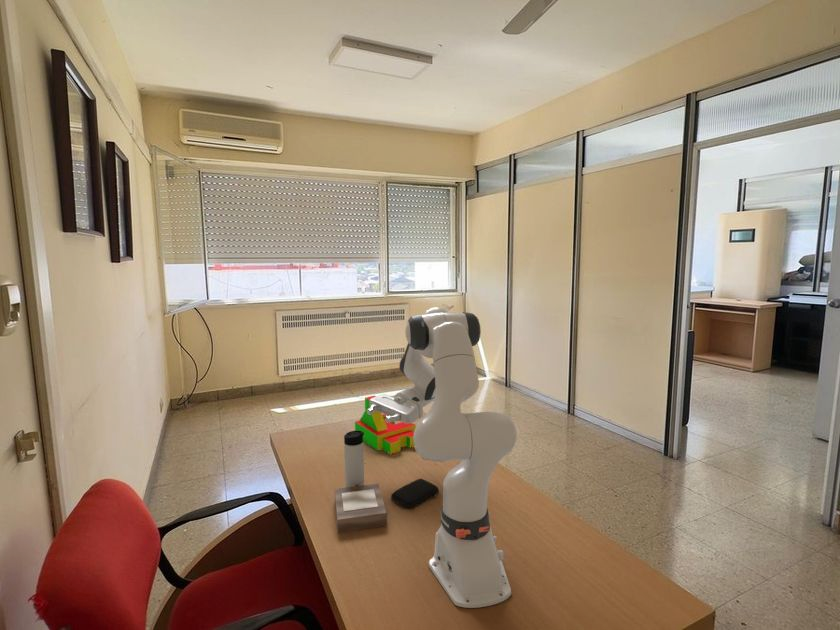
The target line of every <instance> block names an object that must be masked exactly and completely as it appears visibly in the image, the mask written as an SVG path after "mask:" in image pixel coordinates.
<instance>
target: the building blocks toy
mask: <svg viewBox="0 0 840 630" xmlns="http://www.w3.org/2000/svg"><path fill="white" fill-rule="evenodd" d="M376 396H377V395H371V396H366V397H365V398H364V409H365V410H364V412H363V414H362V416H361V417H360V419H359V420H356V421H354V431H357V430H358V431H362V432H364V435H363V442H364V441H365V442H364V443H365V444H367V443H368V444H367V445H368V446H370V445H371V446H372V447H371V446H370V447H371V448H373V447H374V448H375V449H374V448H373V449H374V450H376V449H377V450H379V451H381V450H380V449H382V450H383V449H384V450H383V451H384V452H386V451H387V452H386V453H388V452H389V453H390V454H389V453H388V454H389V455H393V454H392V453H394V454H396V453H395V452H397V453H399V452H398V451H400V452H401V448H400V447H402V448H405V447H407V446H408V447H407V448H409V447H410V448H409V449H412V448H415V447H414V442H413V435H414V431H415V428H416V426H417V424H414V422H413V423H410V424H406V423H403V422H401V421H400V422H398V423H395V422H396V421H395V422H391V423H387V422H386V421H385V418H386V417H388V416H387V415H385V414H382V413H380V412H378V411H373V412H374V414H371V415H369V414H367V409H369V408H370V402H369V401H370V399H371V398H373V397H376ZM404 446H405V447H404ZM411 447H412V448H411ZM377 450H376V451H377Z"/></svg>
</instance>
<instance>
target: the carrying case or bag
mask: <svg viewBox="0 0 840 630" xmlns="http://www.w3.org/2000/svg"><path fill="white" fill-rule="evenodd" d="M439 492H440V490H439V487H438V486H437V485H435V484H433V483H431V482H430V481H427V480H425V479H424V478H417V479H416V480H414V481H412V482H410V483H407V484H405V485H403V486H402V487H400V488H398V489H396V490H394V491H393V492H392V493H391V495H390V496H391V497H390V498H391V499H392V500H393V502H394V503H397V504H398V505H400V506H402V507H403V508H404V509H408V510H411V509H414V508H415V507H417V506H419V505H421V504H423V503H424V502H425V501H428V500H429V499H431V498H434V499H435V498H436V497H437V495H438V494H439Z"/></svg>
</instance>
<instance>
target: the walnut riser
mask: <svg viewBox="0 0 840 630" xmlns="http://www.w3.org/2000/svg"><path fill="white" fill-rule="evenodd" d="M334 502H335V513H336V524H337V525H336V527H337V533H338V534H339V533H345V532H353V531H358V530H366V529H367V530H368V529H372V528H373V529H374V528H380V527H386V526H388V521H387V520H388V519H387V517H388V516H387V510H386V509H387V508H386V506H385V503H384V499H383V495H382V492H381V488H380V485H379V483H372V484H364V485H362V486H354V487H346V486H345V487H340V488H339V487H338V488H335V489H334Z"/></svg>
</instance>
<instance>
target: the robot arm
mask: <svg viewBox="0 0 840 630" xmlns="http://www.w3.org/2000/svg"><path fill="white" fill-rule="evenodd" d="M479 320H480V319H479V318H478V317H477V316H476V315H475V314H474V313H472V312H466V311H464V312H463V311H462V312H449V311H448V310H447V309H445V308H443V307H441V306H435V307H430V308H428V309H426V311H425V312H424V313H423V314H421V313H419V314H415V315H411V316H410V317H409V318H408V320H407V323H406V326H405V338H406V341H407V345H406V348H405V351H404V354H403V356H402V357H401V358H400V361H399V371H400V373H402V374H403V375H404V376H405V377H406V378H407V379H409V381H410V382H411V383H413V386H411V387H410V388H409V387H407V388H405V389H404V390H401V391H399V392H397V393H396V394H395V395H394V397H393V396H391V395H389V394H380V395H375V396H376V397H373V398H371V399H370V401H369V402H370V408H369V409H367V414H369V415H371V414H374V412H373V411H378V412H380V413H382V415H383V414H385V415H387V416H388V417H386V418H385V421H386V422H387V423H391V422H400V423H401V422H403V423H406V424H410V423H413V424H414V422H416V421H418V420H419V419H420V420H419V421H418V423H417V424H416V428H415V431H414V435H413V442H414V446H415V447H414V449H415V451H416V452H417V454H418V456H419V457H420V458H421V459H422V460H424V461H430V462H431V461H432V462H440V463H443V462H444V463H445V462H455V461H460V463H458V464H457V465H456V466H454V467H453V468H452V469H450V470H449V471H448V472H447V474H446V475H445V477H444V479H443V481H442V505H441V510H440V523H441V525H440V526H439V529H438V530H436V533H435V536H434V537H435V538H434V541H435V542H434V555H433V557H432V558H430V559H429V561H428V568H429V569H430V571H431V572H432V574H433V575H434V576H435V578H436V580H438V582H439V584H440V585H441V587H442V588H443V589H444V592H446V595H447V596H448V597H449V598H450V600H451V601H452V603H453V604H454V605H455V606H457V607H460V608H466V609H467V608H468V609H473V608H474V609H477V608H483V607H490V606H493V605H496V604H500V603H502V602H504V601H506V600H507V599H509V598H510V596H511V595H512V588H511V585H510V582H509V579H508V576H507V572H506V570H505V567H504V564H503V561H504V560H505V554H504V551H503V550H502V549H498V548H497V547H496V543H497V542H498V541H497V540H498V538H497V535H493V531H492V525H491V523H490V522H491V521H490V514H489V509H488V506H487V505H488V494H489V493H488V491H489V484H490V480H491V477H492V475H493V473H494V470H495V469H496V467H497V466H498V464H499V463H500V462H501V460H502V459H504V457H505V456H507V455H508V454H509V453H511V452H512V450H513V449H514V447H515V445H516V442H517V438H518V437H517V436H518V435H517V429H516V425H515V424H514V422H513V420H512V419H511V417H509V415H507V414H506V413H501V412H495V411H483V412H482V411H480V412H470V413H463V412H462V411H461V404H462V403H464V402H466V401H467V400H469V399H470V398H471V397H473V396H474V395H475V394H476V393H477V392H478V390H479V385H480V381H479V377H478V376H479V375H478V369H477V364H476V358H475V353H474V348H473V347H475V346H477V344H478V343H479V342H480V338H481V332H482V331H481V330H482V327H481V323H480V321H479ZM426 358H427V359H432V362H433V363H432V364H431V363H430V362H429V361H428V360H427V359H426ZM430 404H432V405H431V407H430V409H429V410H428V412H427V413H426V415H423V412H424V407H425V406H428V405H430ZM423 416H424V417H423Z"/></svg>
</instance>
